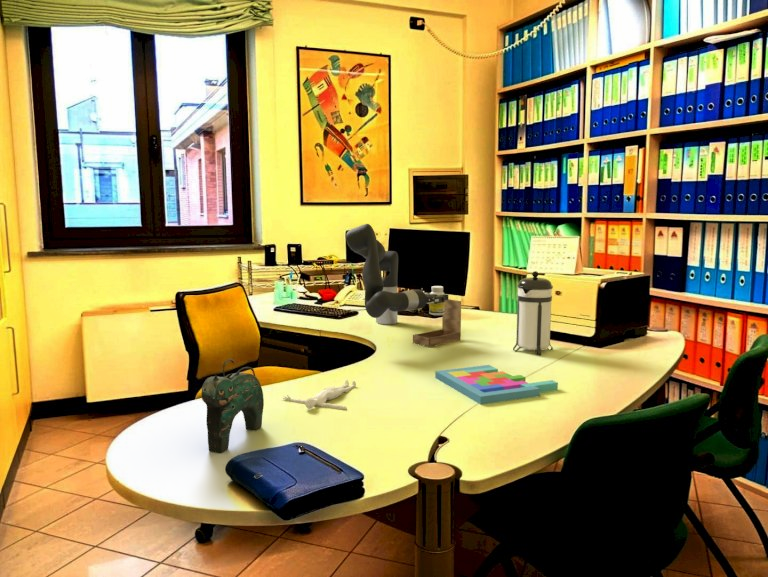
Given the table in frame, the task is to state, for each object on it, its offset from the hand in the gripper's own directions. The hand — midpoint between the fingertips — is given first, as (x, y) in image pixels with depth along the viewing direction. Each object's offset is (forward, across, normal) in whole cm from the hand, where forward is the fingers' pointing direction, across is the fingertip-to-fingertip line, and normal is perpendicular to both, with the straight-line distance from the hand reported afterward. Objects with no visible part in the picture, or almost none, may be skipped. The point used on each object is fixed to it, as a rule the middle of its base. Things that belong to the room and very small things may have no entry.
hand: (441, 296), depth 247 cm
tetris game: (-31, -53, +19) cm, 65 cm away
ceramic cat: (-112, -39, +19) cm, 120 cm away
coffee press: (+15, -34, +18) cm, 41 cm away
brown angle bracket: (-2, 0, +18) cm, 18 cm away
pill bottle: (-2, 0, +7) cm, 8 cm away
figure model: (-77, -28, +20) cm, 84 cm away
